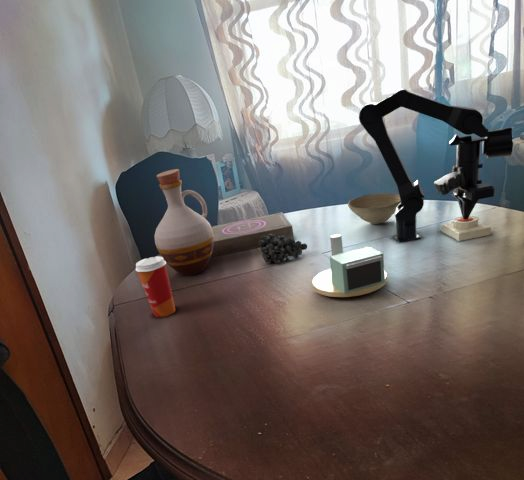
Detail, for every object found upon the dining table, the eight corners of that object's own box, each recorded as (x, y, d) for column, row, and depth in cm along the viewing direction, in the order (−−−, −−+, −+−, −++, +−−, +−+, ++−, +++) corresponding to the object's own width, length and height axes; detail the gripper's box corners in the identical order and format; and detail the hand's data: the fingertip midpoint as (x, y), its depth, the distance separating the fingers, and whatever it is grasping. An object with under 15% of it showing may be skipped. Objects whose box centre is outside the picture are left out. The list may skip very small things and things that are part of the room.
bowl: (411, 225, 149) (410, 199, 145) (354, 234, 151) (352, 209, 147) (397, 212, 165) (396, 189, 161) (345, 220, 167) (343, 198, 163)
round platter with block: (327, 304, 104) (323, 261, 99) (303, 279, 120) (298, 241, 115) (402, 285, 106) (401, 242, 101) (368, 263, 122) (366, 225, 117)
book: (284, 225, 176) (282, 212, 174) (294, 240, 156) (292, 225, 154) (205, 241, 175) (202, 228, 173) (205, 258, 156) (202, 243, 153)
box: (441, 231, 138) (441, 218, 136) (470, 225, 138) (471, 212, 136) (458, 241, 128) (459, 226, 127) (490, 234, 129) (491, 220, 127)
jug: (201, 256, 158) (179, 164, 144) (235, 262, 146) (215, 162, 132) (154, 277, 147) (125, 179, 133) (186, 285, 135) (158, 178, 121)
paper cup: (152, 309, 123) (136, 259, 116) (180, 304, 123) (166, 253, 116) (148, 321, 116) (131, 269, 109) (178, 315, 116) (163, 262, 109)
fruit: (303, 223, 138) (254, 232, 137) (310, 238, 133) (259, 247, 132) (304, 247, 145) (257, 256, 144) (311, 262, 139) (262, 271, 138)
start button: (456, 224, 134) (456, 218, 133) (468, 222, 134) (468, 216, 133) (462, 227, 131) (462, 221, 130) (474, 225, 131) (475, 218, 130)
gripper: (424, 162, 132) (424, 217, 140) (454, 171, 116) (452, 232, 123) (462, 155, 132) (460, 210, 140) (498, 162, 116) (493, 224, 123)
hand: (465, 218), depth 131 cm, fingers closed, pressing on start button
